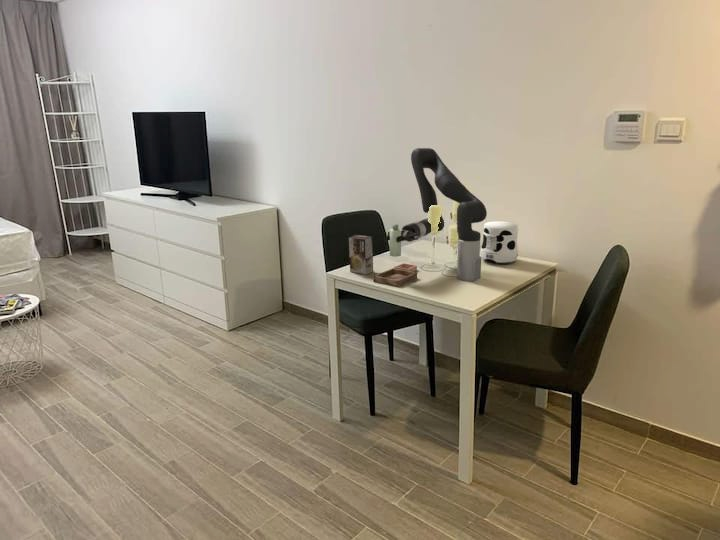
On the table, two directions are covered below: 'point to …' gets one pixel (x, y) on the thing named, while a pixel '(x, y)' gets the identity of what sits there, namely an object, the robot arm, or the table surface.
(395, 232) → the bottle
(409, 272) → the tray
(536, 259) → the table surface
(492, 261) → the cow print rice cooker
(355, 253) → the coffee box
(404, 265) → the holder
